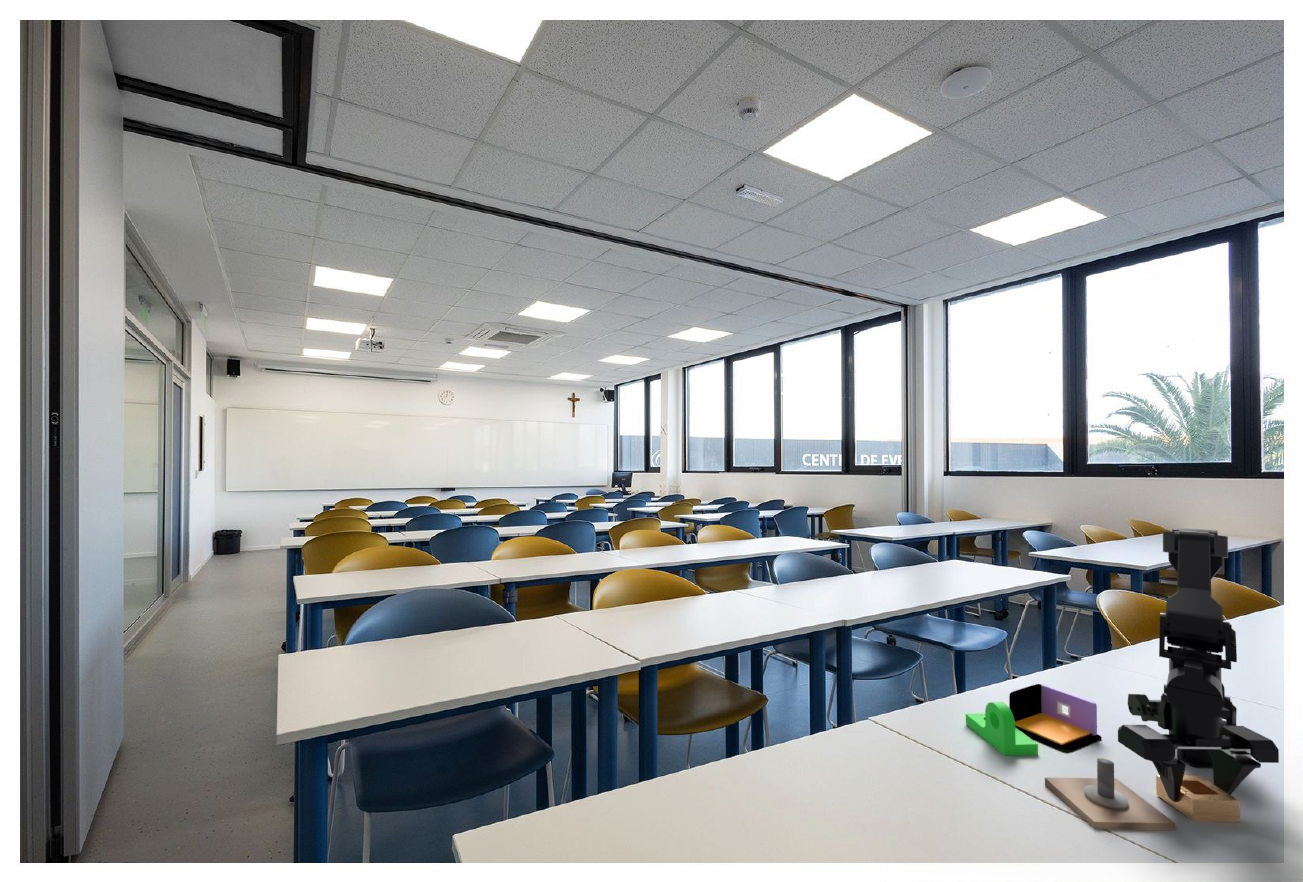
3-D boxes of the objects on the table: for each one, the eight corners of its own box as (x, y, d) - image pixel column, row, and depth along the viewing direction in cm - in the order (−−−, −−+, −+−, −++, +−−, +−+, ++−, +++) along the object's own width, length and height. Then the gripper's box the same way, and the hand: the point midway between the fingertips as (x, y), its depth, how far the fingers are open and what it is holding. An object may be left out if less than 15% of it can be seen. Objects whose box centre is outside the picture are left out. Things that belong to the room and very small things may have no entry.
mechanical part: (1038, 755, 103) (1037, 709, 103) (1004, 756, 103) (1003, 710, 103) (996, 723, 115) (995, 682, 115) (965, 723, 115) (965, 682, 115)
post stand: (1116, 787, 93) (1115, 743, 93) (1175, 834, 82) (1175, 783, 82) (1044, 786, 93) (1044, 742, 93) (1094, 832, 82) (1093, 782, 82)
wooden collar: (1199, 795, 90) (1199, 775, 90) (1239, 821, 84) (1239, 800, 84) (1156, 794, 90) (1156, 774, 90) (1193, 821, 84) (1192, 800, 84)
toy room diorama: (1037, 713, 119) (1037, 679, 119) (1104, 740, 108) (1104, 702, 108) (1000, 726, 114) (999, 691, 114) (1066, 755, 103) (1066, 716, 103)
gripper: (1210, 674, 95) (1211, 771, 95) (1091, 673, 96) (1092, 769, 95) (1281, 704, 84) (1283, 814, 84) (1146, 703, 84) (1148, 812, 84)
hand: (1196, 800), depth 87 cm, fingers closed on wooden collar, 6 cm apart
